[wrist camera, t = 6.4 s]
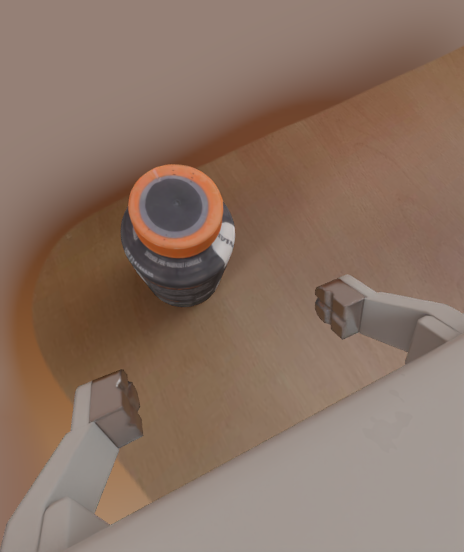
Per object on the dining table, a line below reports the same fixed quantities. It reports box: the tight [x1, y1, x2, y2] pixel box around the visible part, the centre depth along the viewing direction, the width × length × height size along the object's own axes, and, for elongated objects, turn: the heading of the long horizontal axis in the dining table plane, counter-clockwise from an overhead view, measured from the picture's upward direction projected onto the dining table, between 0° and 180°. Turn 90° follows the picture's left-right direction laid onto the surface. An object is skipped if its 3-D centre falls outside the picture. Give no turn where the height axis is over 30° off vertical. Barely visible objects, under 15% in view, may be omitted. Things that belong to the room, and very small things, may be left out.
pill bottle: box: [121, 164, 235, 307], centre depth 17 cm, size 6×6×11 cm
